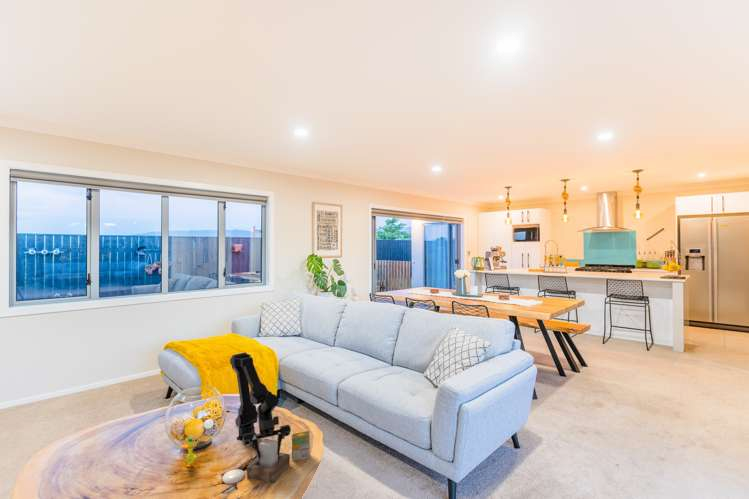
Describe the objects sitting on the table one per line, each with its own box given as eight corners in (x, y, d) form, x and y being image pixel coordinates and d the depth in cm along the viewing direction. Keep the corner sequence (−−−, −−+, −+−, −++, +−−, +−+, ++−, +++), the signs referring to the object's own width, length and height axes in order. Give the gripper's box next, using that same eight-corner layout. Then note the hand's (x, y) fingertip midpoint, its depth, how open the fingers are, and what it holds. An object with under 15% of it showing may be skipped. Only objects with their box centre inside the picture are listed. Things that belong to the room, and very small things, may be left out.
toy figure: (178, 469, 148) (177, 440, 148) (182, 463, 152) (182, 435, 152) (195, 468, 149) (194, 439, 148) (199, 463, 152) (198, 435, 152)
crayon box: (308, 453, 158) (308, 427, 158) (310, 457, 156) (309, 430, 155) (291, 457, 156) (291, 430, 156) (292, 461, 153) (292, 434, 153)
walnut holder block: (247, 478, 142) (246, 466, 142) (264, 460, 154) (264, 449, 154) (273, 483, 139) (273, 472, 139) (289, 464, 151) (289, 454, 150)
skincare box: (278, 469, 148) (278, 440, 147) (272, 476, 144) (271, 446, 143) (265, 466, 150) (265, 438, 149) (259, 473, 146) (258, 443, 145)
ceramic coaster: (217, 481, 140) (217, 480, 140) (231, 469, 148) (231, 467, 148) (235, 485, 138) (235, 484, 138) (248, 472, 146) (248, 471, 146)
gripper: (242, 414, 146) (245, 456, 136) (289, 405, 153) (295, 444, 143) (241, 424, 153) (244, 465, 143) (286, 416, 161) (291, 453, 151)
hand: (269, 457), depth 145 cm, fingers closed on skincare box, 7 cm apart
